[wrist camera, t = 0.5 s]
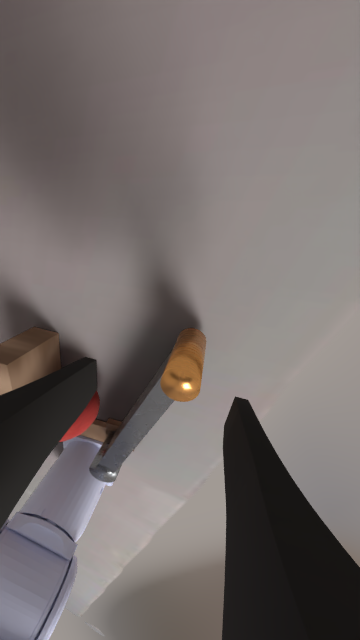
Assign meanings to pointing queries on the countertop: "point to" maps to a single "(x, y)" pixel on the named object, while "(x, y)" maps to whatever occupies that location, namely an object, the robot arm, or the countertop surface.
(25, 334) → the bench
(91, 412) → the onion
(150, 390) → the lever
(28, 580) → the robot arm
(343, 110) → the countertop surface
